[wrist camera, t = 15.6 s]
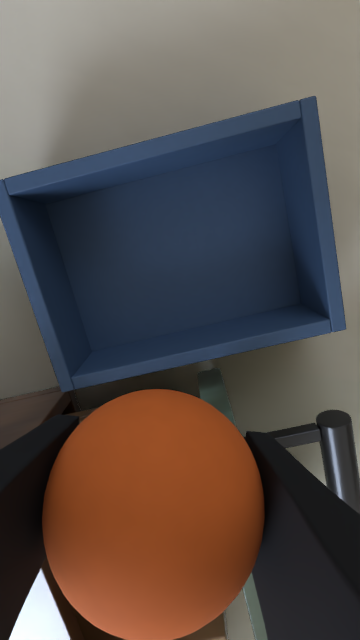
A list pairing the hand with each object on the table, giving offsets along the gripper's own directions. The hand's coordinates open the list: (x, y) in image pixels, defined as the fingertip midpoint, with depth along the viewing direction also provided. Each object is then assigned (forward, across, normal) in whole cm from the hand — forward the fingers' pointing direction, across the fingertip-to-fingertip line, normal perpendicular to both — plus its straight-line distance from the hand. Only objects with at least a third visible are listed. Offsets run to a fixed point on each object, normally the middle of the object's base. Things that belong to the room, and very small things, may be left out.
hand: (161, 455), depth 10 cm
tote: (+9, 0, -5) cm, 10 cm away
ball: (-2, 0, 0) cm, 2 cm away
